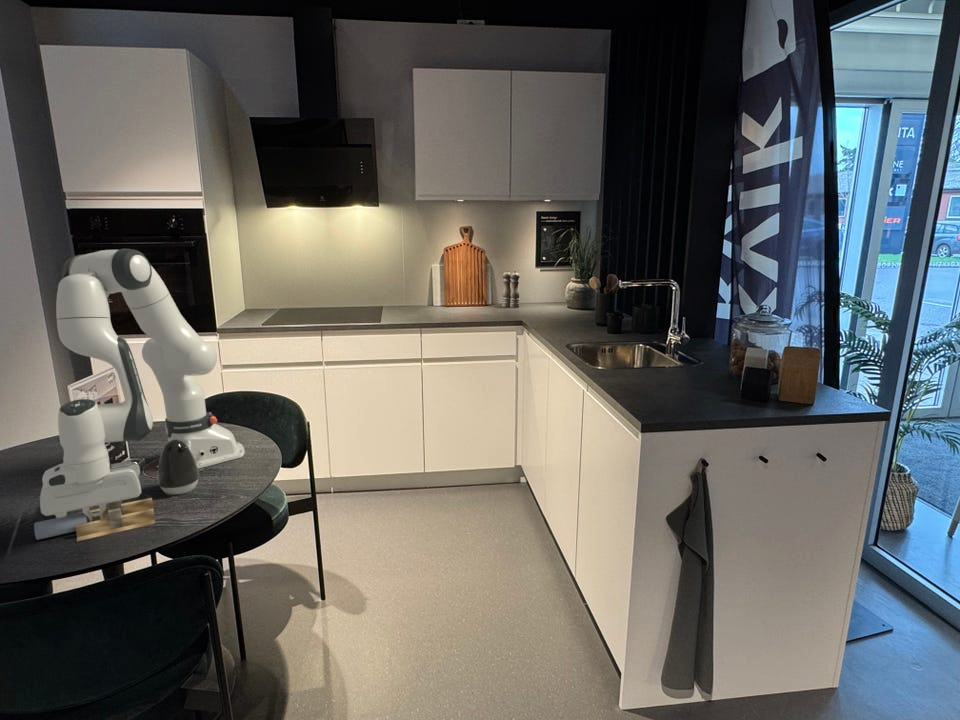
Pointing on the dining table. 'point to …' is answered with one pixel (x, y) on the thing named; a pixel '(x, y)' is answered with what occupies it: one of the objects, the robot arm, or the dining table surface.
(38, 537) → the light blue block
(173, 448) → the dark grey egg shape
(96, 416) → the robot arm
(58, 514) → the tie bar
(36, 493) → the dining table surface
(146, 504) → the brown low boxy piece
